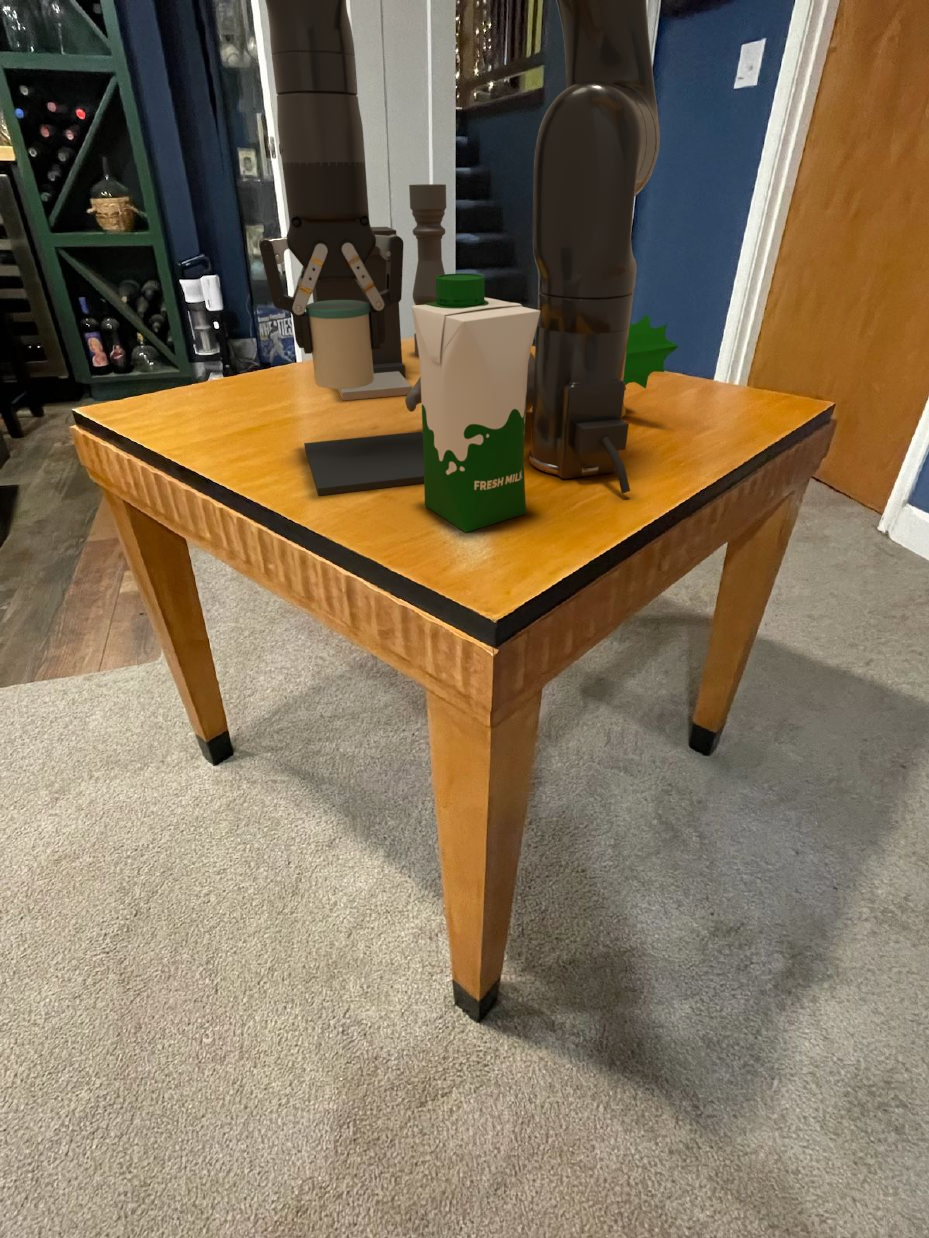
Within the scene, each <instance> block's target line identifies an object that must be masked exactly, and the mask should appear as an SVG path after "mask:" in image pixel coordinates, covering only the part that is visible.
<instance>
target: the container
mask: <svg viewBox="0 0 929 1238" xmlns="http://www.w3.org/2000/svg"><path fill="white" fill-rule="evenodd" d="M305 312H306V314H307V315H308V323H309V332H310V340H311V348H312V353H311V355H312V364H313V365H312V366H313V372H314V381H315V384H316V385H317V386H319V387H322V388H326V389H333V390H337V389H349V388H357V387H362V386H366V385H368V384H371V383H372V382H373V381H374V374H373V360H372V347H371V334H370V321H369V312H370V307H369V304H368V303H367V302H363V301H357V300H328V301H319V302H310V303H307V306H306V309H305Z"/></svg>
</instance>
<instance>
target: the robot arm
mask: <svg viewBox="0 0 929 1238" xmlns="http://www.w3.org/2000/svg"><path fill="white" fill-rule="evenodd" d="M264 2H265V5H266V11H267V17H268V24H269V25H268V26H269V39H270V40H269V43H270V49H271V50H270V53H271V61H272V68H273V69H272V70H273V77H274V84H275V86H274V87H275V94H276V106H277V111H276V112H277V120H276V121H277V133H278V134H277V135H278V142H279V143H278V151H279V155H280V158H281V166H282V167H281V168H282V175H283V181H284V190H285V198H286V205H287V215H288V222H289V223H288V224H289V225H288V231H287V234H286V236H283V237H276V238H268V237H261V238H260V239H259V240H258V248H259V252H260V257H261V260H262V264H263V269H264V273H265V277H266V283H267V285H268V291H269V294H270V299H271V302H272V305H273V306H274V308H276V309H277V310H284V311H287V312H289V313H290V314H291V315H292V324H293V331H294V339H295V342H296V345H297V347H298V348H299V349H302V350H303V352H304V354H306V355H307V354H309V355H310V354H311V355H312V348H311V340H310V332H309V323H308V315H307V314H306V306H307V305H308V304H309V300H310V298H311V295H313V294H312V292H313V289H314V287H315V284H316V281H320V282H321V283H324V282H331V281H334V280H340V281H344V282H348V281H352V280H354V279H355V280H356V281H357V283H358V285H359V286H360V288H361V289H362V291H363V293H364V295H365V296H366V298H367V300H368V302H369V306H370V312H369V321H370V334H371V347H372V349H373V350H375V349H380V343H384V340H385V325H384V310H385V308H386V307H387V306H389V305H391V304H393V303H398V302H399V303H400V302H401V300H402V298H403V297H402V294H403V267H404V240H403V239H402V237H400V236H399V235H393V234H392V235H389V236H383V235H375V234H374V232H373V231H372V229H371V227H372V226H371V222H370V213H369V212H370V211H369V210H370V209H369V198H368V183H367V182H368V181H367V170H366V169H367V168H366V153H365V152H366V151H365V140H364V128H363V122H362V121H363V120H362V115H361V111H360V110H361V109H360V105H359V97H358V94H359V93H358V82H357V81H358V79H357V63H356V52H355V51H356V50H355V43H354V42H355V41H354V35H353V30H352V25H351V20H350V16H349V13H348V8H347V0H264ZM555 2H556V6H557V10H558V15H559V19H560V23H561V29H562V36H563V45H564V46H563V47H564V58H565V81H566V89H564V90H563V91H562V92H561V93H559V94H558V95H557V96H556V98H554V100H553V101H552V102H551V103H550V105H549V107H548V108H547V110H546V112H545V114H544V116H543V118H542V120H541V123H540V126H539V129H538V133H537V138H536V142H535V149H534V159H533V160H534V161H533V179H532V180H533V181H532V182H533V183H532V185H533V186H532V250H533V251H532V252H533V258H534V262H535V266H536V269H537V274H538V285H537V287H538V288H537V291H538V292H537V305H536V306H537V308H536V310H539V311H540V315H539V319H538V323H537V327H536V331H535V346H534V354H535V365H534V386H533V406H532V407H531V408H532V410H531V435H530V436H531V437H530V448H529V453H528V455H529V456H528V460H529V463H530V465H531V466H533V467H534V468H536V469H538V470H540V471H543V472H546V473H549V474H551V475H552V474H553V475H556V476H559V477H560V478H561V479H571V478H581V477H588V476H597V475H604V474H613V473H616V475H617V479H618V483H619V488H620V492H621V494H625V493H628V492H631V488H630V483H629V479H628V474H627V470H626V468H625V466H624V465H625V464H624V463H623V460H622V458H621V456H620V454H619V453H618V452H619V451H625V450H626V449H627V441H628V433H629V426H630V425H629V423H628V422H626V421H625V420H623V417H622V410H623V402H624V400H625V395H626V394H625V393H626V390H625V386H626V385H625V383H624V381H623V380H624V371H625V363H626V354H627V346H628V337H629V328H630V324H631V322H632V321H631V319H632V311H633V304H634V296H635V295H634V294H635V289H636V279H637V271H638V270H637V269H638V268H637V267H638V265H637V264H638V263H637V260H636V258H635V256H634V253H633V248H632V247H633V246H632V229H633V218H634V217H633V216H634V206H635V197H637V195H638V194H639V193H640V192H641V191H642V190H643V189H644V188H645V186H646V185H647V183H648V182H649V180H650V178H651V176H652V174H653V172H654V169H655V167H656V166H655V165H656V163H657V160H658V156H659V151H660V145H661V144H660V143H661V142H660V140H661V133H660V119H659V112H658V104H657V97H656V89H655V80H654V71H653V62H652V52H651V44H650V43H651V42H650V35H649V24H648V7H647V0H555ZM375 246H377V247H378V248H379V250H380V255H381V257H382V258H384V259H385V260H386V290H384V291H382V292H378V290H377V288H376V287H375V284H374V282H373V280H372V279H371V277H370V275H369V273H368V272H367V270H366V268H365V264H366V262H367V260H368V258H369V257H370V255H371V253H372V251H373V249H374V248H375ZM286 250H289V251H290V253H292V254H293V256H294V257H295V258H296V260H297V261H298V262H299V263H300V264H301V266H302V268H301V271H300V274H299V277H298V279H297V283H296V286H295V290H294V292H293V295H292V296H291V295H288V294H285V293H284V289H283V285H282V280H281V276H280V271H279V267H278V265H281V264H282V263H283V262H284V259H285V256H284V255H285V252H286ZM624 403H625V402H624Z"/></svg>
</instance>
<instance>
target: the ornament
mask: <svg viewBox="0 0 929 1238" xmlns="http://www.w3.org/2000/svg"><path fill="white" fill-rule="evenodd" d="M666 329H667V324H664V325H661V326H658V327H652V326H651V321H650V315H649V313H647V314H646V315H645V316H643V317H642V318H641V319H639V321H637V322H636V323H633V324H632V323H630V328H629V337H628V346H627V354H626V363H625V371H624V380H623V381H624V383H625V391H626V390H627V387H626V386H627V385H628V384H631V383H634V384H637V385H639V386H640V387H642V388H644V389H647V385H648V381H649V377H650V375H651V374H652V373H654V372H655V373H665V361H666V359H667V357H668V356H669V355H670V354H672V353H673V352H674V351H676V349H678V348H679V345H678V344H677V343H675V342H672V341H670V340H668V338H667V337H666ZM533 356H534V358H535V353H534V354H533ZM626 409H627V408H626V407H625V402H623V410H622V418H623V417H625V415H626Z"/></svg>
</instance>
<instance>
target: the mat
mask: <svg viewBox="0 0 929 1238" xmlns="http://www.w3.org/2000/svg"><path fill="white" fill-rule="evenodd" d="M304 451H305V454H306V457H307V461H308V465H309V468H310V471H311V472H310V473H311V474H312V479H313V482H314V485H315V489H316V492H317V496H326V495H327V496H329V495H335V494H343V493H344V494H345V493H353V492H361V491H370V490H377V489H378V490H379V489H386V488H393V487H394V488H395V487H403V486H412V485H420V484H424V451H423V431H410V432H400V433H392V434H391V433H390V434H382V435H381V434H380V435H370V436H361V437H353V438H342V439H334V440H333V439H332V440H323V441H313V442H304Z"/></svg>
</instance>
